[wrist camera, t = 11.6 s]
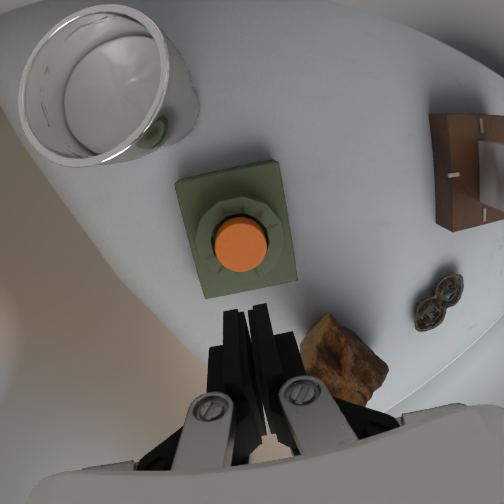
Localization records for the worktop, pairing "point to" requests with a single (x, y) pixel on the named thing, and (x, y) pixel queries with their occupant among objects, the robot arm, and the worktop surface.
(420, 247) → the worktop surface
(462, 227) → the block
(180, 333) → the worktop surface
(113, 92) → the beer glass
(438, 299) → the corroded twin loop
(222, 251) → the button
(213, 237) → the button box
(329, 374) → the decorative rock
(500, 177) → the tap handle
